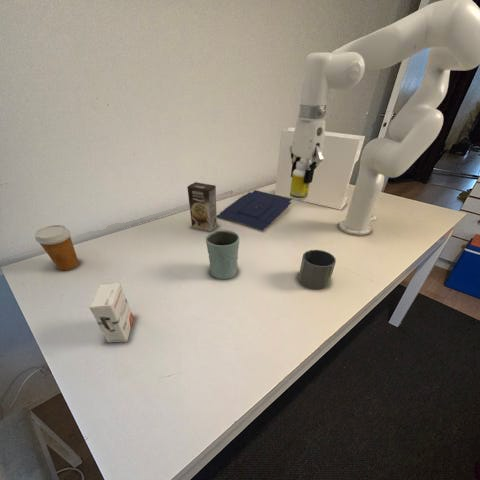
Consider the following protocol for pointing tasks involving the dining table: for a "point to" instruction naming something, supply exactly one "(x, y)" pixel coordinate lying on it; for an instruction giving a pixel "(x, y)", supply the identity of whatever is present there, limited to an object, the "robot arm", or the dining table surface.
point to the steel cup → (316, 269)
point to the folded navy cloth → (256, 209)
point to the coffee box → (202, 206)
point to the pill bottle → (299, 182)
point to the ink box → (112, 312)
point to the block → (322, 168)
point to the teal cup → (223, 253)
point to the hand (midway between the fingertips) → (301, 179)
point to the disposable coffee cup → (58, 246)
